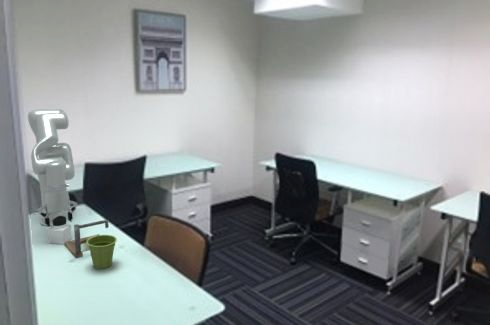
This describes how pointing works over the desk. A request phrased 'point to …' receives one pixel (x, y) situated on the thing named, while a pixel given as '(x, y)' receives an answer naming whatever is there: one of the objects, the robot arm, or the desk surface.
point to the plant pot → (102, 250)
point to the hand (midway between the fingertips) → (59, 223)
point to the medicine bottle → (59, 230)
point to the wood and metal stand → (81, 244)
